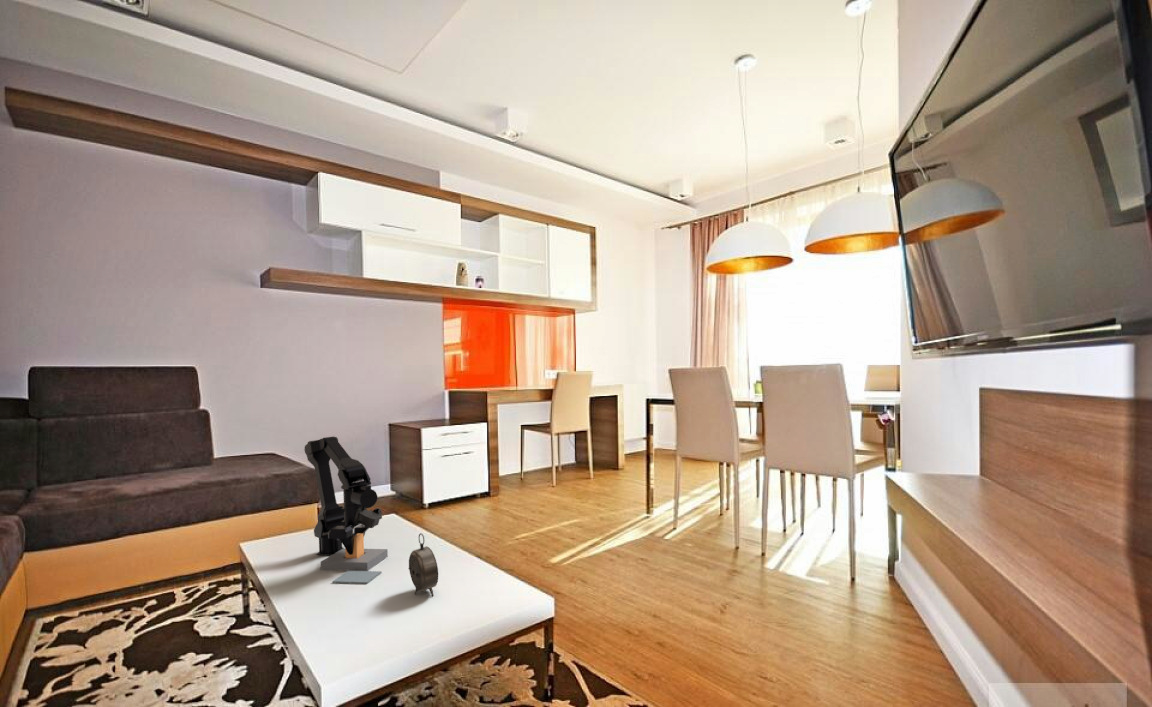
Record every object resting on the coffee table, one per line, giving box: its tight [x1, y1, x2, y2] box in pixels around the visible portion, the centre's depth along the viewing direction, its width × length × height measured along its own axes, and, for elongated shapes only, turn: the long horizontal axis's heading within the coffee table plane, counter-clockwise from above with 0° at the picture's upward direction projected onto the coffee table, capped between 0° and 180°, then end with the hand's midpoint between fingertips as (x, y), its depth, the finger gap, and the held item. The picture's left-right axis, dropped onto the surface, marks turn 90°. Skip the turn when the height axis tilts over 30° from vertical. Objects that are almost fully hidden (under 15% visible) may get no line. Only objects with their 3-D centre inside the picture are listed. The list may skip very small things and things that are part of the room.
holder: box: [320, 547, 389, 571], centre depth 169 cm, size 16×12×2 cm
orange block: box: [344, 533, 365, 558], centre depth 169 cm, size 4×4×9 cm
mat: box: [332, 570, 382, 585], centre depth 156 cm, size 11×8×1 cm
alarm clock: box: [408, 532, 439, 597], centre depth 144 cm, size 11×5×16 cm, turn 38°
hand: (354, 552), depth 169 cm, fingers closed on orange block, 4 cm apart
